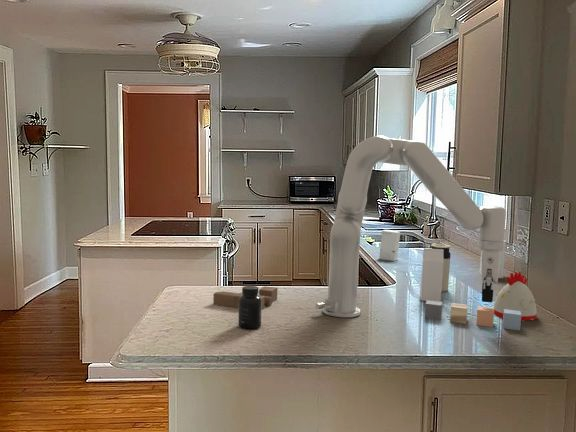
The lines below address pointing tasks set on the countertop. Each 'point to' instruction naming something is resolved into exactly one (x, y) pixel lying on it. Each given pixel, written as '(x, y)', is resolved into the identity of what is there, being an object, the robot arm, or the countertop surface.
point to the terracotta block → (485, 316)
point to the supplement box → (501, 262)
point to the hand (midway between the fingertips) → (486, 298)
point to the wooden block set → (232, 299)
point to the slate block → (511, 319)
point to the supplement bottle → (250, 308)
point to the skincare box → (389, 245)
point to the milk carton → (432, 275)
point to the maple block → (458, 313)
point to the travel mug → (444, 264)
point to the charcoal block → (433, 310)
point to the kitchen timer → (516, 298)
